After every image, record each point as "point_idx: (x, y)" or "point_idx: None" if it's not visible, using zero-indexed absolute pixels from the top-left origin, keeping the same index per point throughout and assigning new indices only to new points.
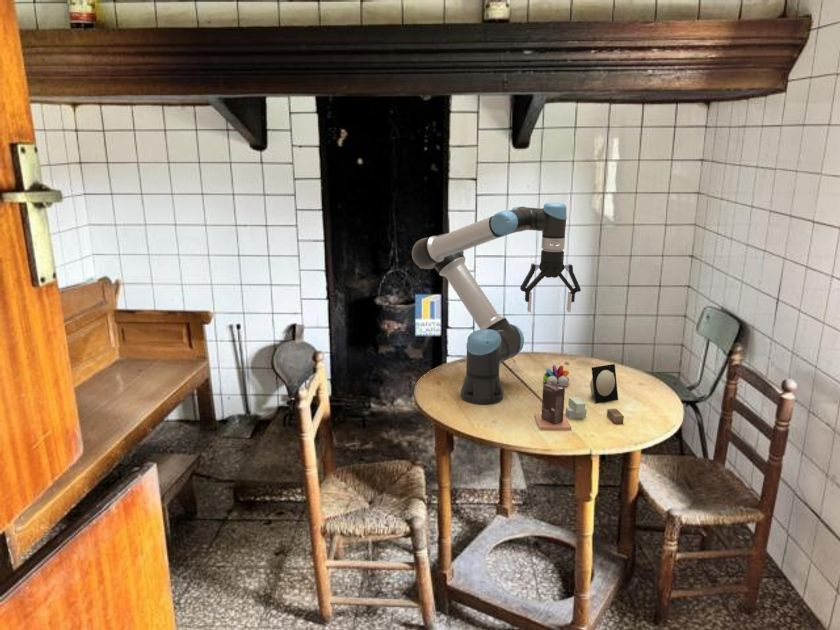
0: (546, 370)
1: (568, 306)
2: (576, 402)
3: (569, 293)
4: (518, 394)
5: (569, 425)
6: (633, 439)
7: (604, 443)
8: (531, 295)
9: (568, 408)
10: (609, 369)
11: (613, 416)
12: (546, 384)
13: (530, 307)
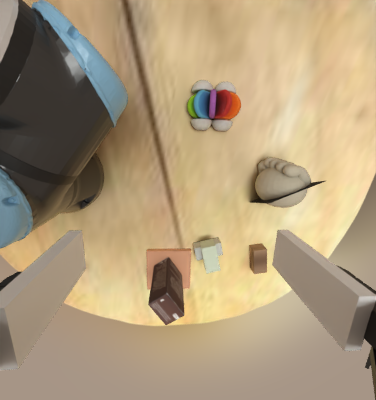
0: (194, 105)
1: (287, 274)
2: (208, 266)
3: (346, 342)
4: (132, 164)
5: (188, 283)
6: (256, 303)
7: (219, 313)
8: (28, 350)
9: (197, 251)
10: (307, 186)
11: (253, 268)
12: (154, 304)
13: (72, 283)
